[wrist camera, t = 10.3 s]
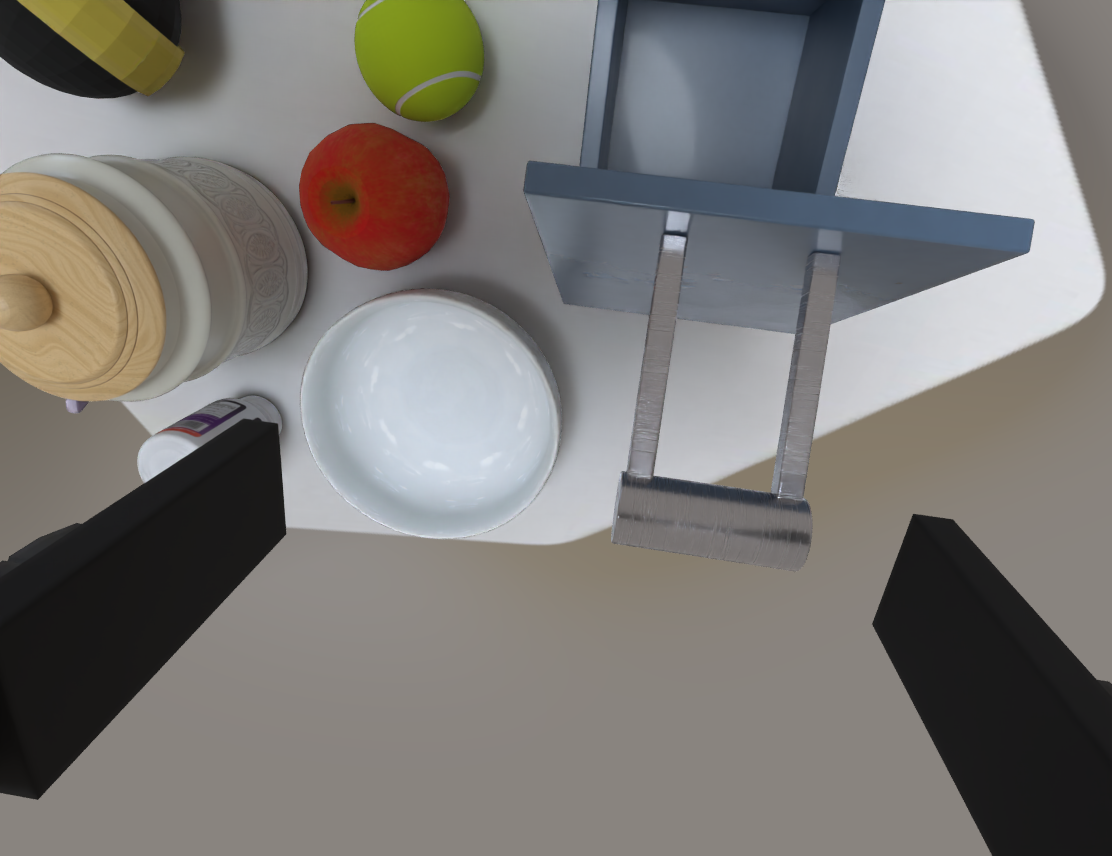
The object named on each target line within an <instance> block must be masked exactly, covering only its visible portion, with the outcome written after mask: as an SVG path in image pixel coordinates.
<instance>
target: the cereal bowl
mask: <svg viewBox="0 0 1112 856" xmlns="http://www.w3.org/2000/svg"><path fill="white" fill-rule="evenodd" d="M300 409H301V419H302V424H303V429H304V434H305V437H306V440H307V443H308V446H309V449H310V451H311V453H312V456H313V458H314V460H315V462H316V464H317V466H318V467H319V469H320V470H321V472H322V473H323V475H324V476H325V478H326V479H327V480H328V482H329V483H330V484H331V486H332V487H333V488H334V489H335V490H336V491H337V492H338V493H339V494H340V495H341V496H342V497H343V498H344V499H345V500H346V501H347V502H348V503H349V504H351V505H352V506H353V507H354V508H355V509H357V510H358V511H359V512H361V513H362V514H364V515H365V516H367V517H369V518H370V519H372V520H374V521H376V522H377V523H379V524H381V525H383V526H386V527H388V528H390V529H393V530H396V531H398V532H401V533H405V534H408V535H412V536H417V537H423V538H432V539H457V538H465V537H470V536H475V535H478V534H482V533H485V532H488V531H491V530H493V529H495V528H497V527H499V526H501V525H503V524H505V523H507V522H508V521H510V520H512V519H513V518H515V517H516V516H517V515H519V514H520V513H521V512H522V511H523V510H524V509H526V508H527V507H528V506H529V505H530V504H531V503H532V502H533V500H534V499H535V498H536V497H537V495H538V494H539V493H540V491H541V490H542V488H543V487H544V485H545V483H546V482H547V480H548V478H549V476H550V474H551V471H552V469H553V467H554V464H555V462H556V457H557V455H558V452H559V447H560V442H561V441H560V439H561V432H562V411H561V409H562V407H561V401H560V395H559V390H558V387H557V382H556V380H555V379H554V375H553V373H552V371H551V367H550V366H549V364H548V362H547V359H546V358H545V357H544V354H543V353H542V352H541V350H540V348H539V346H538V345H537V344H536V343H535V341H534V340H533V339H532V338H531V337H530V335H529V334H528V333H526V331H525V330H524V329H523V328H521V327H520V325H519V324H518V323H516V322H515V321H514V320H513V319H512V318H510V317H508V315H507V314H506V313H503V312H501V311H500V310H499V309H497V308H495V307H494V306H493V305H490V304H489V303H486V302H484V301H482V300H480V299H478V298H474V297H473V296H470V295H466V294H464V293H458V292H455V291H448V290H441V289H430V288H428V289H424V288H421V289H411V290H405V291H399V292H395V293H390V294H387V295H384V296H381V297H378V298H375V299H373V300H371V301H369V302H366V303H364V304H363V305H360V306H358V307H356V308H355V309H354V310H352V311H351V312H349V313H348V314H346V315H345V316H343V317H342V318H341V319H340V320H338V321H337V322H336V323H335V324H334V325H333V326H332V327H331V328H330V329H329V330H328V331H327V332H326V333H325V334H324V335H323V337H322V338H321V339H320V340H319V342H318V343H317V345H316V346H315V348H314V350H313V352H312V354H311V355H310V357H309V359H308V362H307V365H306V368H305V370H304V374H303V378H302V383H301V392H300Z"/></svg>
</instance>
